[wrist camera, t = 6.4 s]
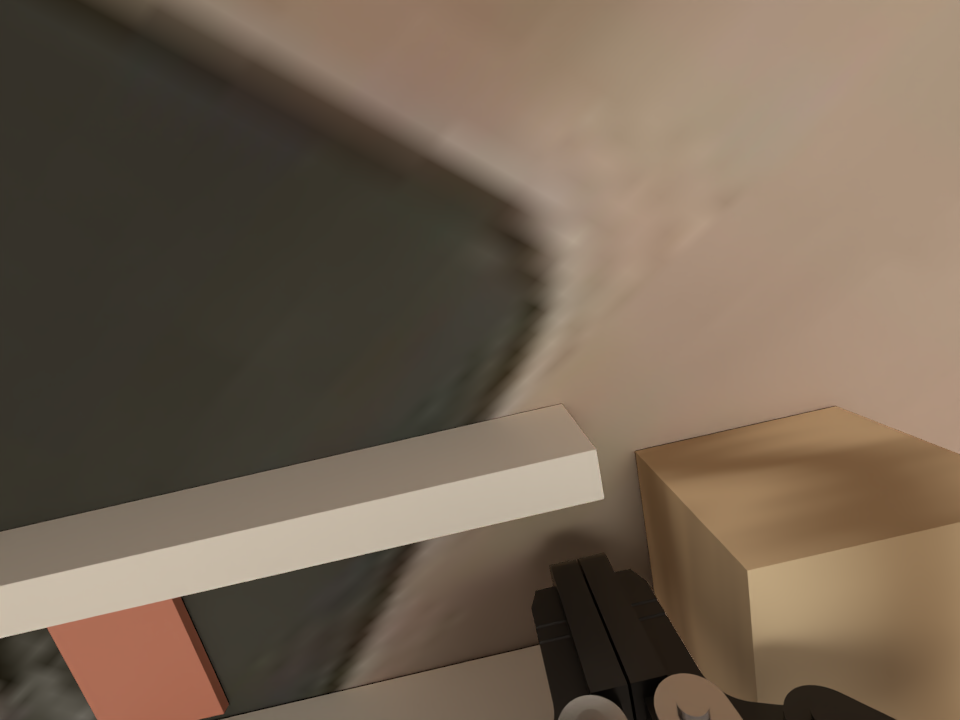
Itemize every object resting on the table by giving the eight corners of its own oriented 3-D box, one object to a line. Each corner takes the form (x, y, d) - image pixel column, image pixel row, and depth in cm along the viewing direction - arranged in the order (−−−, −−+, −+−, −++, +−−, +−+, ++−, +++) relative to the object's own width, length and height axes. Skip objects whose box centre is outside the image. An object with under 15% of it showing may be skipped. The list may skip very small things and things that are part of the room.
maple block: (654, 594, 14) (763, 774, 9) (635, 451, 13) (746, 570, 8) (838, 552, 14) (1043, 709, 9) (836, 406, 13) (1069, 497, 8)
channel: (125, 772, 14) (40, 905, 11) (-7, 533, 12) (-152, 620, 9) (608, 659, 14) (648, 761, 12) (562, 403, 12) (596, 449, 9)
